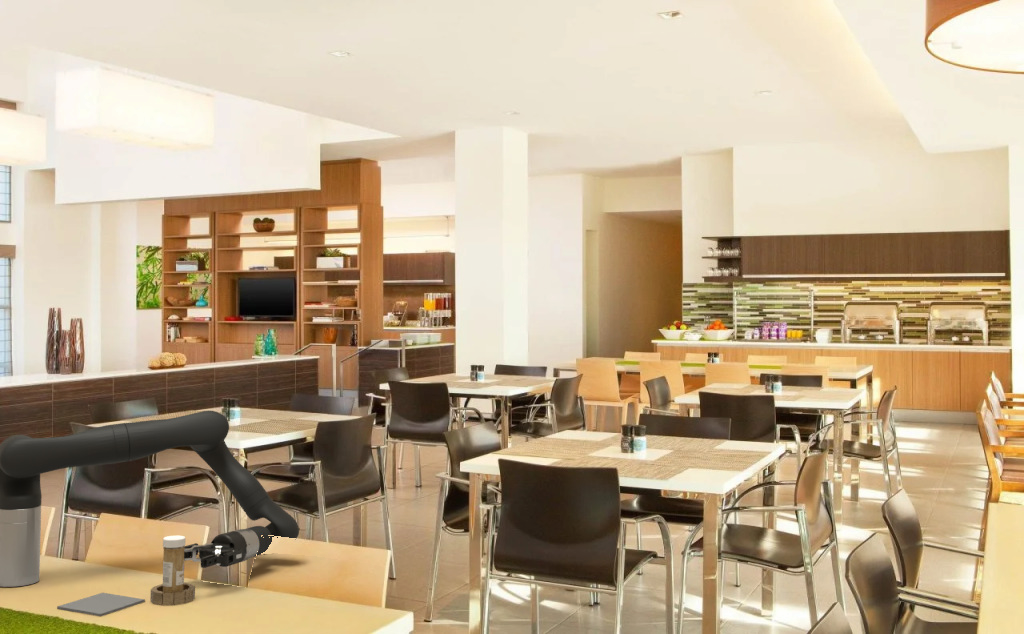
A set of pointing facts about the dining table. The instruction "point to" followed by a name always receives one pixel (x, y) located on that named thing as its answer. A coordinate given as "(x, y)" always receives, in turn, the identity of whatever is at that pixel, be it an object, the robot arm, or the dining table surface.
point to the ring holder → (172, 595)
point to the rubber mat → (101, 604)
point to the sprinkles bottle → (173, 563)
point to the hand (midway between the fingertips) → (186, 561)
